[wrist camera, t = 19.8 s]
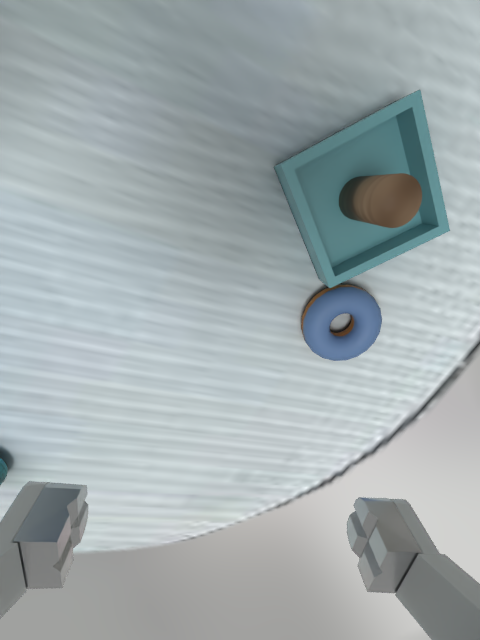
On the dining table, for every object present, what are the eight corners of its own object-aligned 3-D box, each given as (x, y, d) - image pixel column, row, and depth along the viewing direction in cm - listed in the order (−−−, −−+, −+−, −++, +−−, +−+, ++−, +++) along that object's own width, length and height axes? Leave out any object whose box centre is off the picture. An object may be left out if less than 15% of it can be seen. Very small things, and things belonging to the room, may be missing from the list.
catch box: (273, 166, 34) (280, 164, 31) (397, 100, 33) (420, 89, 29) (318, 279, 39) (329, 288, 36) (427, 226, 38) (449, 230, 34)
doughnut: (327, 367, 44) (340, 382, 40) (282, 317, 42) (291, 328, 37) (383, 319, 43) (403, 329, 39) (340, 265, 40) (357, 269, 36)
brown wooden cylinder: (330, 206, 35) (361, 211, 28) (355, 167, 34) (394, 162, 27) (361, 227, 36) (399, 237, 29) (386, 190, 35) (432, 191, 28)
